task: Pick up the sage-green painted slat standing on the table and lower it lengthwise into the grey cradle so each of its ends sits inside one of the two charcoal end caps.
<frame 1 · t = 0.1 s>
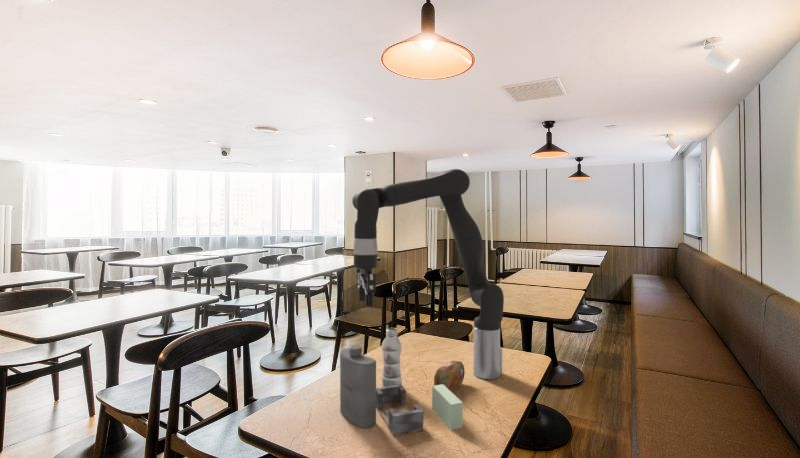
hand: (365, 303, 122), 29 cm above the table, fingers open, 8 cm apart
slat: (446, 418, 109), on the table
cradle: (397, 416, 109), on the table
plastic bottle: (391, 390, 127), on the table
tin: (449, 389, 127), on the table
flask: (356, 417, 109), on the table
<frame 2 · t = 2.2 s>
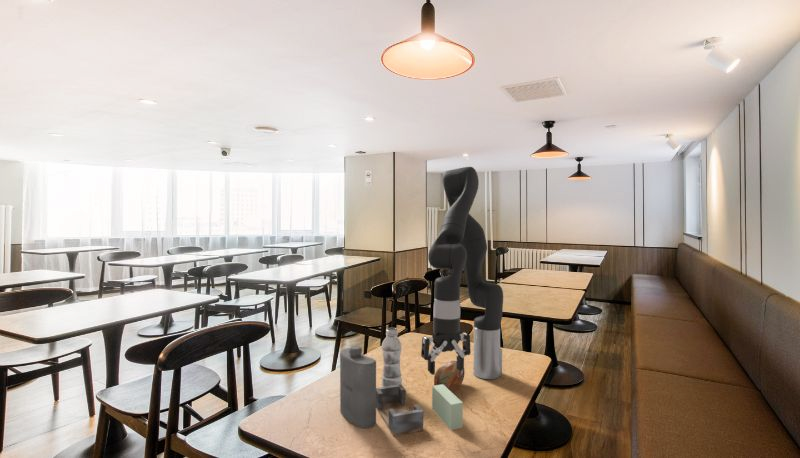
hand: (445, 371, 109), 13 cm above the table, fingers open, 8 cm apart
nothing on the table moved.
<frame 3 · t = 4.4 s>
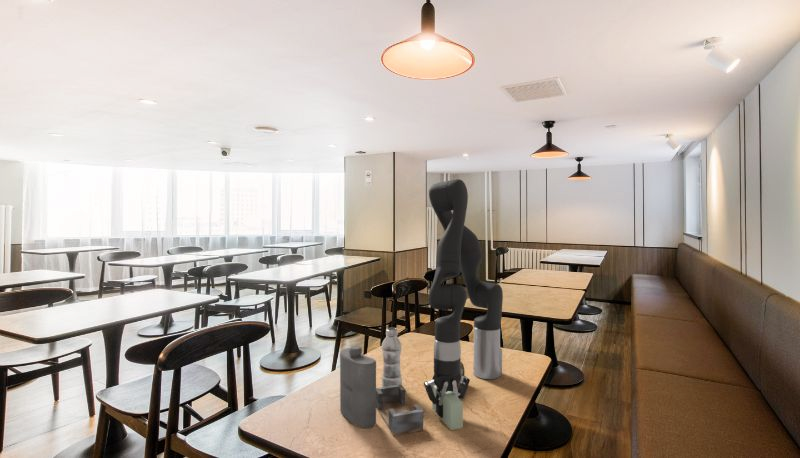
hand: (446, 414, 109), 1 cm above the table, fingers closed on slat, 3 cm apart
slat: (446, 417, 109), on the table, touching gripper
everything else where it was.
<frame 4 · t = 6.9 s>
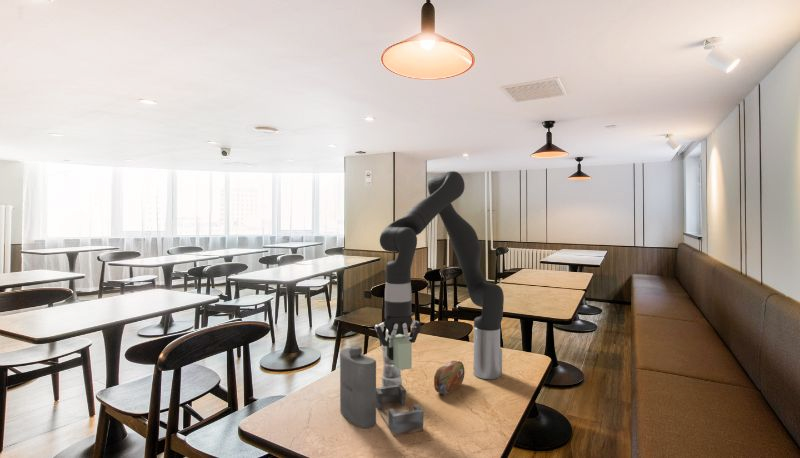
hand: (397, 358, 109), 17 cm above the table, fingers closed on slat, 3 cm apart
slat: (397, 361, 109), point 16 cm above the table, touching gripper
everything else where it was.
when the fingers open (3 cm above the table, at t = 9.7 s): slat drops 1 cm, resting on cradle.
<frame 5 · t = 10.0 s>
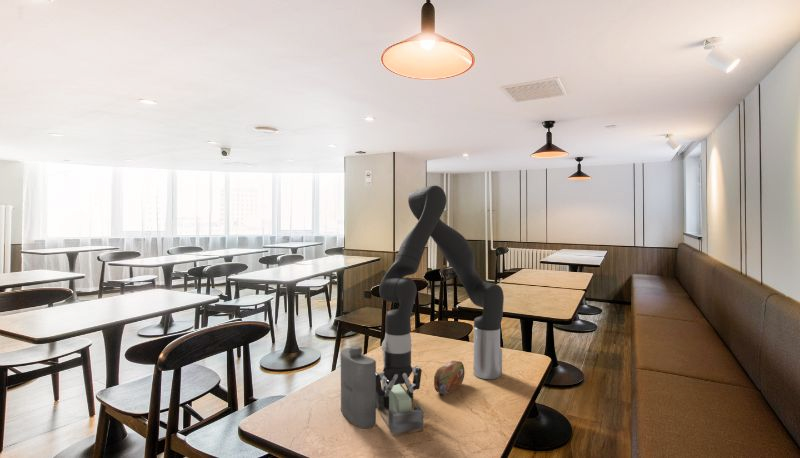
hand: (397, 405, 109), 3 cm above the table, fingers open, 6 cm apart
slat: (397, 414, 109), point 1 cm above the table, touching cradle
flask: (356, 417, 109), on the table, touching hand
everything else where it was.
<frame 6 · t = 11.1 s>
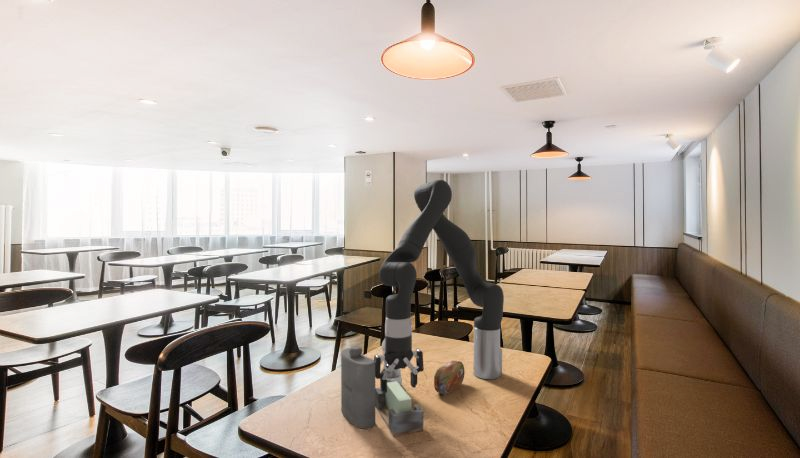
hand: (399, 388, 109), 8 cm above the table, fingers open, 8 cm apart
flask: (356, 417, 109), on the table
everything else where it was.
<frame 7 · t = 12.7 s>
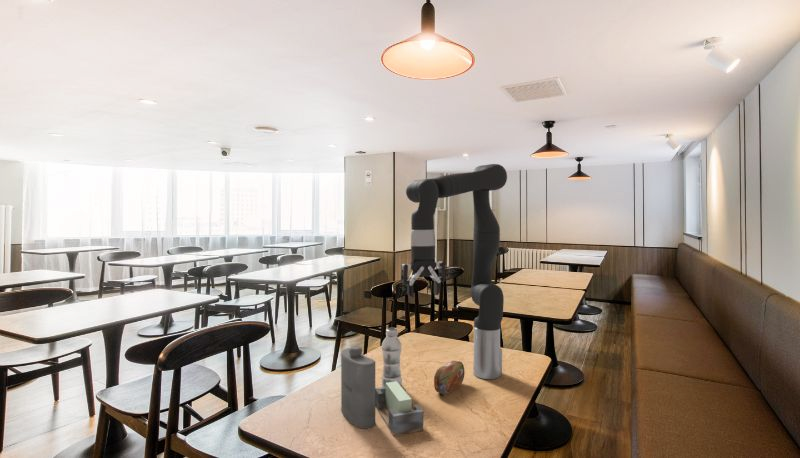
hand: (423, 295, 120), 32 cm above the table, fingers open, 8 cm apart
nothing on the table moved.
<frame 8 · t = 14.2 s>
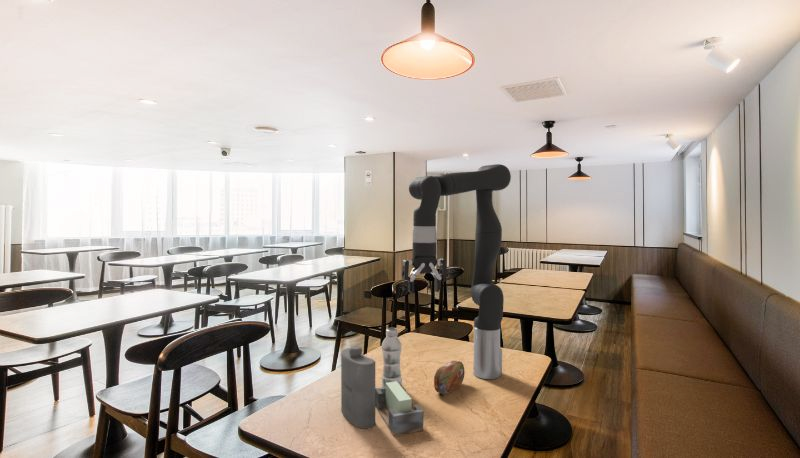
hand: (424, 292, 121), 33 cm above the table, fingers open, 8 cm apart
nothing on the table moved.
at the end: slat 0.1 cm off-centre on the cradle, point 0.6 cm above the cradle's base; slat tilted 0°; the gripper is holding nothing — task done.
